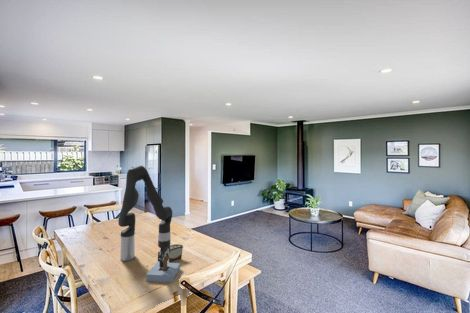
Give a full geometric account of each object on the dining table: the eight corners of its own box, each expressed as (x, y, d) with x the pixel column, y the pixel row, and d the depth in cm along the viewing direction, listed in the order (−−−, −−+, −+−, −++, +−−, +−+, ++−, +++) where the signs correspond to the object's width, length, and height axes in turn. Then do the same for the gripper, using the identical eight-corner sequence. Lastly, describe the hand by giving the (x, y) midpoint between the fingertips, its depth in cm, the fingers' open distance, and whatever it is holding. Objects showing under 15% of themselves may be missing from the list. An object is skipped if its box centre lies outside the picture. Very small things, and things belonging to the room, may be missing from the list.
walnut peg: (162, 272, 151) (162, 254, 150) (168, 273, 150) (168, 254, 150) (159, 276, 147) (159, 257, 146) (165, 276, 146) (166, 257, 146)
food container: (179, 255, 176) (179, 242, 175) (183, 258, 171) (183, 245, 171) (163, 260, 167) (163, 246, 167) (167, 263, 163) (167, 249, 163)
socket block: (156, 267, 157) (157, 261, 157) (180, 269, 156) (180, 263, 156) (146, 280, 141) (146, 274, 141) (171, 282, 140) (171, 275, 140)
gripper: (163, 234, 155) (162, 258, 156) (153, 242, 141) (153, 269, 141) (173, 234, 155) (173, 259, 155) (165, 243, 140) (165, 269, 141)
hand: (164, 263), depth 148 cm, fingers open, 8 cm apart
